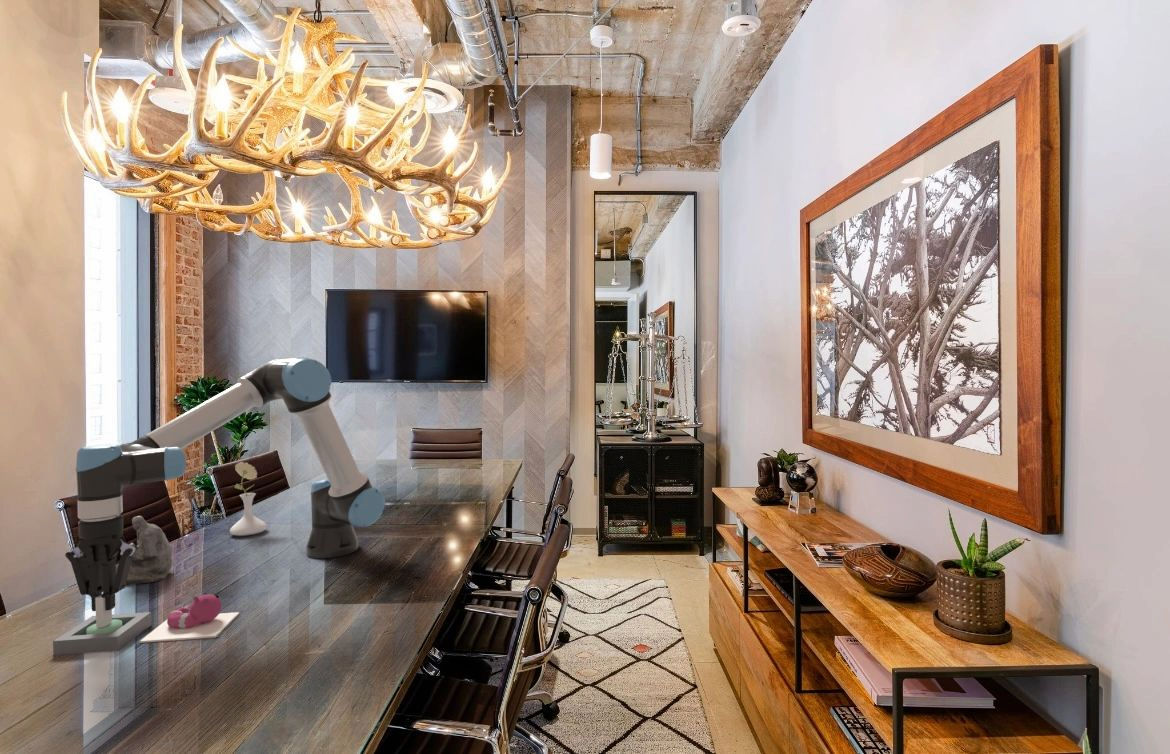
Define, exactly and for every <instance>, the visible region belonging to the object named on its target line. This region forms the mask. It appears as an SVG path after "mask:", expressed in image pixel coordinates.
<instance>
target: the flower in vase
mask: <svg viewBox="0 0 1170 754" xmlns="http://www.w3.org/2000/svg"><path fill="white" fill-rule="evenodd" d="M234 468H235V471H236V472H237V474H238V475H239V476H240V477H241V482H240V484H239V483H236V484H235V485H234V487H233V488H234V489H237V490H240V491H242V490H243V492H244V493H241V494H239V497H240V498H241V500H242V501H243V509H244V511H243V513H244V514H243V516H242V517H241V518H240V519H239V520H238V521H237V522H236V523H234V524H233V525H232V527H230V529H229V533H230V535H232V536H240V537H241V536H250V535H257V534H260V533H262V532H264V531H266V530H267V528H268V525H267V523H266V522H264V521H263V520H262V519H260V518H258V517H256V516H255V515H254V514H253V510H252V509H253V502H254V498H255V496H256V495H257V493H255V492H247V491H248V490H249V489H251V488H252V487H254V486H255V484H253V485H251V486H249V487H248V488H246V489H245V488H244V485H243V481H244V479H247V480H250V481H252V480H255V479H257V478H258V477H257V476H258V472H257V469H256V467H255V466H253V465H252V464H249V463H248V462H246V461H245V462H244V461H240V462H238V463H236V464H235V465H234Z"/></svg>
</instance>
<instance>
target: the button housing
mask: <svg viewBox="0 0 1170 754" xmlns="http://www.w3.org/2000/svg"><path fill="white" fill-rule="evenodd" d="M115 619H116V620H121V621H122V627H121V628H119V629H118V630H117V631H115V632H114V633H105V634H90V635H87V628H88V627H89V626H91V625H93V624H96V615H92V616H90V617H88V618H87V619H85V620H84V621H82V622H81V623H79V624H77V625H76V626H74V627H73V628H71V629H70V630H68V631H66V632H65V633H63V634H62V635H61V636H59V637H57V638H56V639H54V640H52V649H53V650H52V653H53V656H63V655H64V656H65V655H77V654H92V653H104V652H119V651H120V650H121V649H122V648H123V647H125V646H126V645H128V644H129V643H130V642H131V641H132V640H134V639H135V638H137V637H139V635H141V634H142V633H143V632H144V631H146V630H147V629H148V628H150V626H152V612H151V611H145V612H131V613H117V614H115V613H114V614H112V620H115Z"/></svg>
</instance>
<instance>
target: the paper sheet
mask: <svg viewBox="0 0 1170 754" xmlns="http://www.w3.org/2000/svg"><path fill="white" fill-rule="evenodd" d="M239 615H240V612H239V611H237V612H225V613H224V612H223V613H221V612H220V613H219V614H218V616H217V617H216V618H215V619H213V620H212V621H209V622H206V623H198V624H196V625H194V626H193V627H190V628H175V627H171V626H168V624H167V620H168V618H167V619H166V620H165V621H163V622H162V623H161V624H159V625H158V626H157V627H156V628H155V629H152V631H150V632H149V633H148V634H147V635H146V636H144V637H143V638H142V639H140V640H139V643H140V644H142V643H145V644H146V643H155V642H156V643H157V642H170V641H171V642H172V641H184V640H186V641H187V640H199V639H201V640H202V639H212V638H213V639H214V638H217V637H218V636H219V635H220V634H221V633H222V632H223V630H225V628H227V627H228V626H229V625H230V624H231V623H232V622H233V621H234V620H235V619H236V618H237V617H238V616H239Z"/></svg>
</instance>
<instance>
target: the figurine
mask: <svg viewBox="0 0 1170 754" xmlns="http://www.w3.org/2000/svg"><path fill="white" fill-rule="evenodd" d="M131 524H132V528H133V529H134V530H135V531H136V537H137V538H136V539H137V540H136V544H135V543H133V542H131V543H128V545H130V546H137V548H138V549H137V550H136V552H135V553H134V555H133V557H132V561H131V565H130V569H129V573H128V578H127V582H126V586H128V585H140V584H147V583H153V582H155V583H156V582H159V581H161V580H164V579H166V578H167V576H168V575H169V573H170V571H171V569H172V566H173V559H172V554H173V553H172V552H173V550H172V547H171V544H170V542H169V540H168V539H167V537H166V534H165V532H163V529H161V527H159V526H158V525H156V524H154V523H148V522H147V521H146V520H145V519H144V517H143V516H142V515H137V516H134V517H133V518H132V519H131ZM118 564H119V563H117V564H116V573H117V569H118Z"/></svg>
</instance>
